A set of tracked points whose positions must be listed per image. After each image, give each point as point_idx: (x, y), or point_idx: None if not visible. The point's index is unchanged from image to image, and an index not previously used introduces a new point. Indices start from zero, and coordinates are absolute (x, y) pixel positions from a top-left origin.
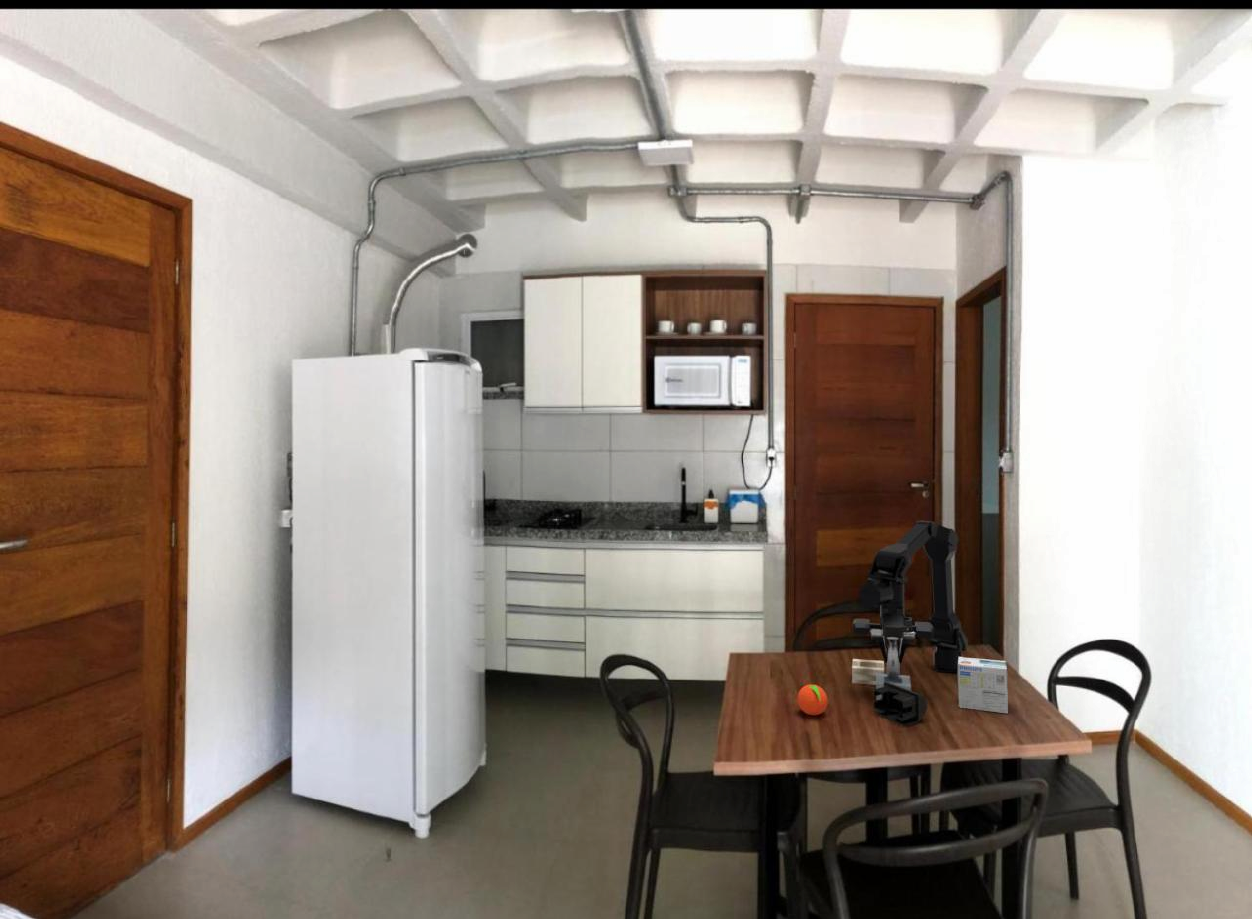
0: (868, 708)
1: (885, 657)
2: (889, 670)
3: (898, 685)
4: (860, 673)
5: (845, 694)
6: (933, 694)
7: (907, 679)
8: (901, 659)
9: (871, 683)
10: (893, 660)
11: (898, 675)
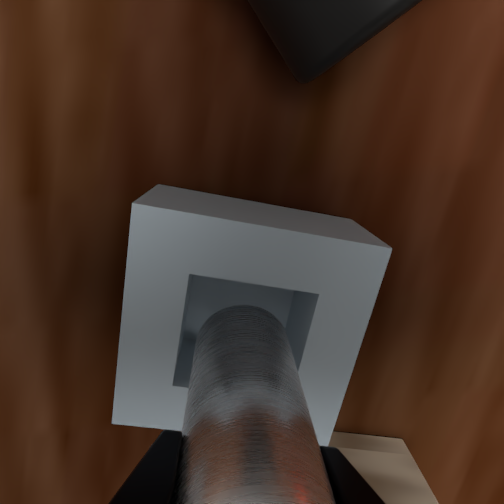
0: (443, 65)
1: (356, 493)
2: (287, 363)
3: (229, 221)
4: (386, 482)
5: (491, 288)
6: (11, 331)
7: (135, 357)
8: (149, 466)
9: None
10: (262, 433)
11: (207, 336)
